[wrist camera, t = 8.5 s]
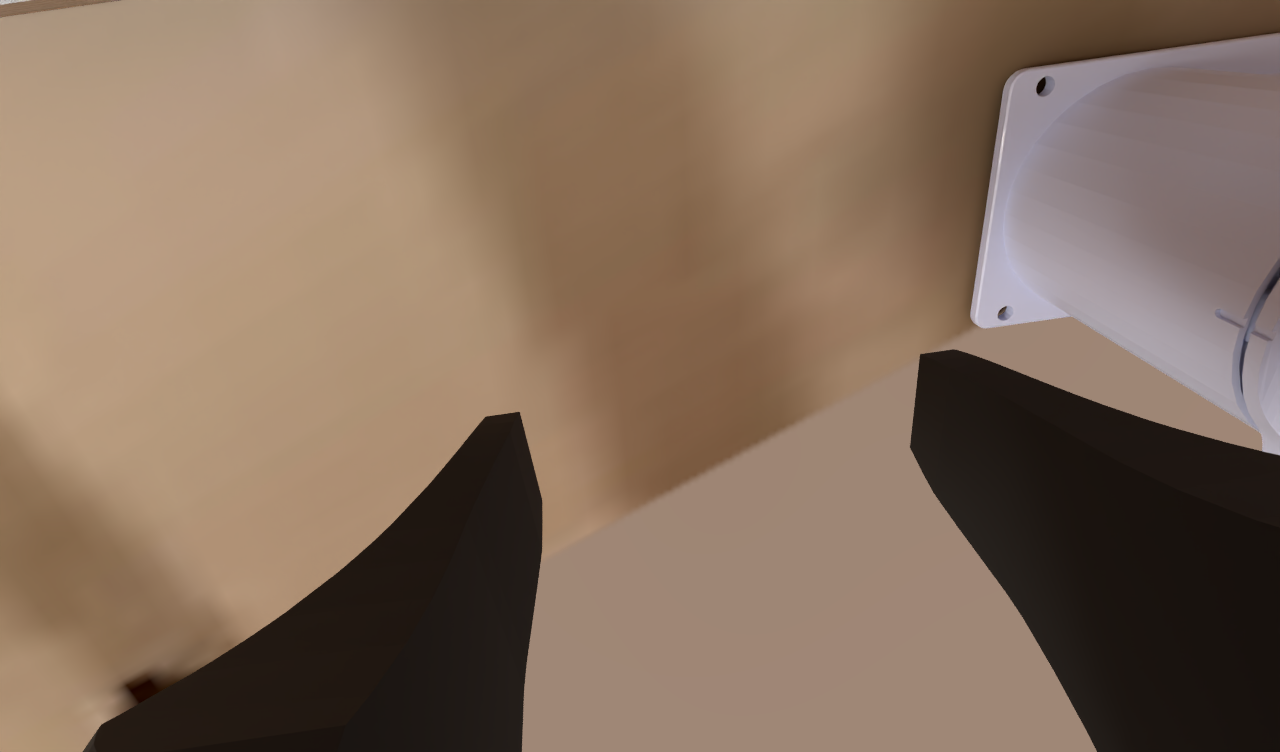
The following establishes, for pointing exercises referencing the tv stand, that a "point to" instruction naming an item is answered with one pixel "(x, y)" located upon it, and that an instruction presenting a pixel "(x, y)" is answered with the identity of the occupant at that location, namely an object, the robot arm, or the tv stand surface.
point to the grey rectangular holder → (40, 5)
